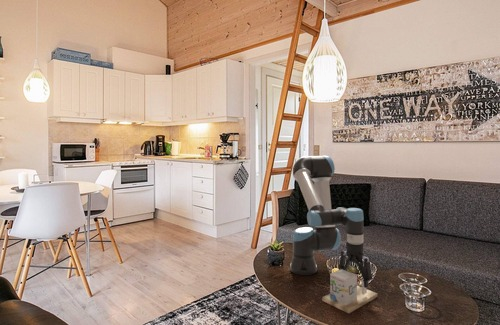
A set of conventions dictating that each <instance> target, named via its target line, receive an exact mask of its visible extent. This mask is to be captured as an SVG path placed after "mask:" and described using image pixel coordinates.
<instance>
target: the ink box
mask: <svg viewBox="0 0 500 325" xmlns="http://www.w3.org/2000/svg"><path fill="white" fill-rule="evenodd" d="M329 276H330V278H329V279H330V283H329V287H330V289H329V290H330V291H329V294H330V298H331V299H333V300H335V301H337V302H339V303H341V304H343V305H345V306H346V305H348V304H350V303H352V302H354V301H355V300H357V286H358V275H357V273H354V272H351V271H349V270H347V271H346V270H343V269H340V270H339V269H338V270H336V271H333V272H331V273H330V274H329Z"/></svg>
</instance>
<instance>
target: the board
mask: <svg viewBox="0 0 500 325" xmlns="http://www.w3.org/2000/svg"><path fill="white" fill-rule="evenodd" d="M376 298H378V293H377V292H375V291H372V290H370V289H367V293H366V294H364V295H362V286H359V285H357V300H355V301H354V302H352V303H350V304H348V305H346V306H345V305H343V304H341V303H339V302H337V301H335V300H333V299H331V298H330V293H328V294H326V295H324V296H322V298H321V300H322V302H325V304H326V303H327V304H328V305H330V306H333V307H334V308H337V309H338V310H341V311H343V312H344V313H347V314H351V313H352V312H354V311H356V310H357V309H359V308H361V307H362V306H364V305H366V304H368V303H369V302H371V301H373V300H375V299H376Z"/></svg>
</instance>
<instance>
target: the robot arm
mask: <svg viewBox="0 0 500 325" xmlns="http://www.w3.org/2000/svg"><path fill="white" fill-rule="evenodd" d="M335 170H336V169H335V163H334V160H333V159H332V157H330V156H328V155H308V156H307V155H306V156H301V157H299V158H298V159H296V161H295V162H294V164H293V167H292V176H293V179H294V180H295V181H296V182H297V184H298V186H299V188H300V191H301V194H302V196H303V199H304V202H305V204H306V206H307V210H308V212H307V214H306V219H307V224H308V225H309V226H303V227H299V228H296V229H295V230H293V231H292V258H291V261H290V265H289V271H290V272H292V273H294V274H295V275H299V276H311V275H314V274H316V273H317V271H318V266H317V264H316V259H315V256H314V255H315V254H314V253H315V252H319V251H320V252H322V251H331V250H336V249H338V248H339V247H340V245H341V241H342V240H341V239H342V237H341V231H340V230H339V229H338V228H337V227H336V226H340V225H341V226H343V225H344V226H345V227H346V228H345V229H346V232H345V235H346V236H345V238H346V242H345V247H346V248H345V249H343V250H340V260H339V266H338V270H340V269H343V270H346V271H349V269H350V266H351V264H352V263H354V264H356V266H357V267H358V269H359V272H360V275H361V277H362V280H361V287H362V295H364V294H366V293H367V290H368V289H367V288H368V287H369V281H372V280H373V275H372V270H371V264H370V261H371V258H370V256H369V257H368V256H365V255H364V241H365V240H364V222H365V221H364V220H365V218H364V210H363V209H361V208H357V207H349V208H346V207H343V206H342V207H336V209H335V208H334V209H332V200H331V199H332V198H331V188H330V180H332V176H333V175H334V174H335ZM313 227H314V228H313Z"/></svg>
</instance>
